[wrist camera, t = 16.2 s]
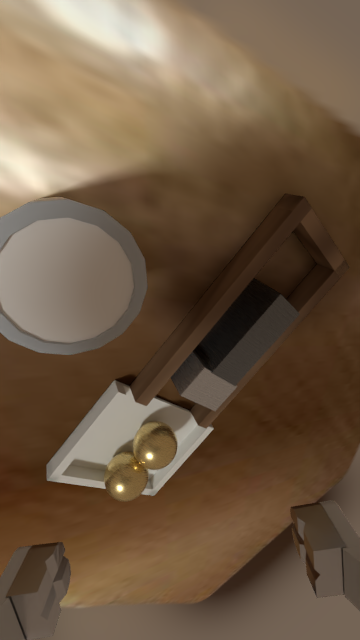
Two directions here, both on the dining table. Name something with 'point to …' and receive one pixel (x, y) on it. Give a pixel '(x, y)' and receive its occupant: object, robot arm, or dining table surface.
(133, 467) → the shiny gold ball
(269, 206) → the dining table surface
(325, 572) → the robot arm
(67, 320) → the white cup
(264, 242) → the slot rail
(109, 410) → the tray
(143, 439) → the brass sphere
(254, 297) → the long gray brick
